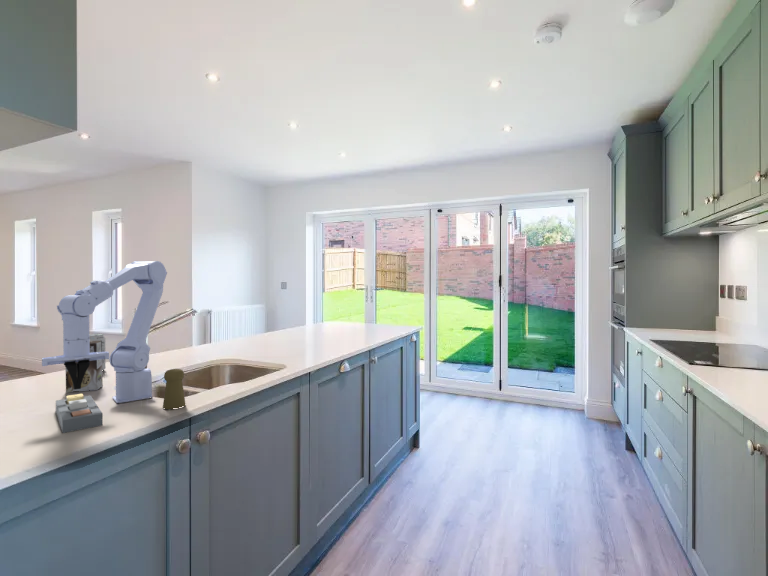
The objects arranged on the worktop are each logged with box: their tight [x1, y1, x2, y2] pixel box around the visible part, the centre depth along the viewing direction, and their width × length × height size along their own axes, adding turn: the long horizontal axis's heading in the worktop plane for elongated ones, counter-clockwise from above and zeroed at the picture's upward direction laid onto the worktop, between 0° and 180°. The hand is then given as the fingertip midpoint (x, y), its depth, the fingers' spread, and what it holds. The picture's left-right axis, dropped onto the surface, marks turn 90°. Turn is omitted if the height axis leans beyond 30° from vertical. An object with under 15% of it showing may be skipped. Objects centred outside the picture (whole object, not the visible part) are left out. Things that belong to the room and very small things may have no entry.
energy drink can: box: [90, 333, 106, 371], centre depth 164 cm, size 6×6×15 cm
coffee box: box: [65, 340, 104, 393], centre depth 137 cm, size 9×6×16 cm
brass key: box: [65, 393, 85, 404], centre depth 113 cm, size 4×4×3 cm
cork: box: [162, 368, 186, 409], centre depth 118 cm, size 6×6×11 cm
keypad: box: [55, 394, 104, 434], centre depth 108 cm, size 8×22×3 cm, turn 43°
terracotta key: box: [71, 409, 91, 417], centre depth 103 cm, size 4×4×3 cm
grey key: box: [69, 399, 87, 410], centre depth 108 cm, size 4×4×3 cm
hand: (77, 388), depth 110 cm, fingers closed
